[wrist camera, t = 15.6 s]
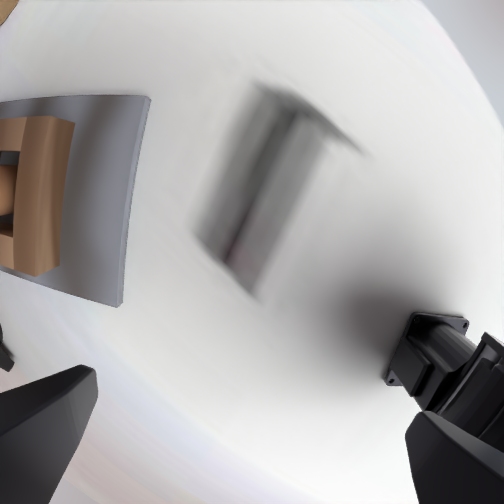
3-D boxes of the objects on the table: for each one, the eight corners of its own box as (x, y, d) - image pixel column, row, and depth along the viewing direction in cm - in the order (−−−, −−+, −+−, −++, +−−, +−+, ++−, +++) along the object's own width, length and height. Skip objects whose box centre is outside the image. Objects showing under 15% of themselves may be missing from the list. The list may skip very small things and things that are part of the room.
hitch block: (151, 100, 17) (128, 82, 13) (122, 302, 20) (98, 326, 16) (-24, 109, 16) (-51, 104, 12) (-36, 250, 19) (-63, 259, 15)
